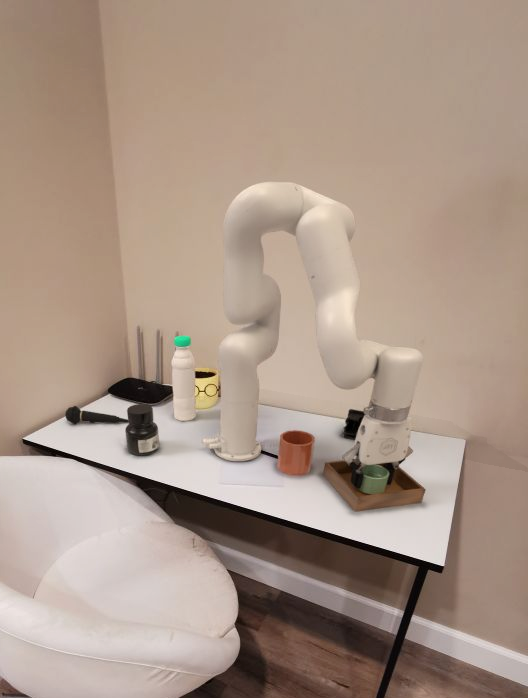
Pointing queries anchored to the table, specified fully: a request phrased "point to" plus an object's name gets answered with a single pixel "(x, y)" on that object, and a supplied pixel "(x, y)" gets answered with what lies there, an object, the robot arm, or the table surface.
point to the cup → (295, 452)
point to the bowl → (374, 479)
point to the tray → (395, 494)
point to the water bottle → (183, 380)
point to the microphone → (90, 416)
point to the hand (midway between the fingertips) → (370, 482)
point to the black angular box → (353, 423)
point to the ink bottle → (141, 430)
